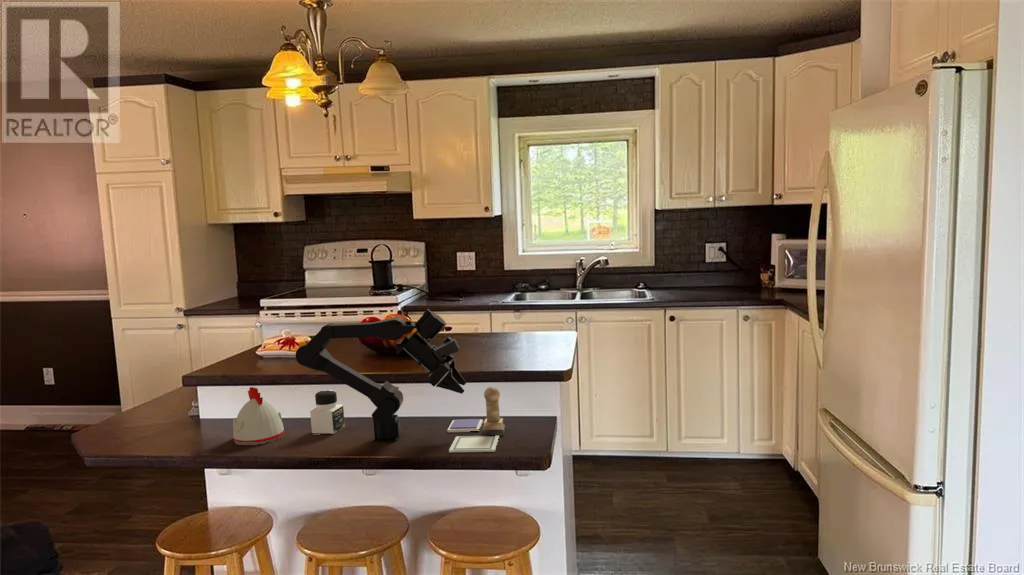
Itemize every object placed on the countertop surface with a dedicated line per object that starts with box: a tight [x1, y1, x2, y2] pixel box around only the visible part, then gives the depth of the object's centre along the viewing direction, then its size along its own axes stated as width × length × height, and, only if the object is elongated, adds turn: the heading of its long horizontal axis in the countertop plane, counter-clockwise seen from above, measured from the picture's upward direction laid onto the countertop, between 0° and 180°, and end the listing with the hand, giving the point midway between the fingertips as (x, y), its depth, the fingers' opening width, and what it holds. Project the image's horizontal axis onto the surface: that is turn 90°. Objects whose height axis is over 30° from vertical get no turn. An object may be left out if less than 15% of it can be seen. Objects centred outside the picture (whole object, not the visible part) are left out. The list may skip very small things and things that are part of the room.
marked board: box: [448, 435, 500, 454], centre depth 173 cm, size 12×11×1 cm
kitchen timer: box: [232, 386, 285, 442], centre depth 188 cm, size 14×14×15 cm
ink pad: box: [446, 418, 484, 433], centre depth 189 cm, size 9×9×1 cm
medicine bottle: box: [309, 389, 345, 435], centre depth 192 cm, size 7×7×12 cm
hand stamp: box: [481, 386, 506, 436], centre depth 182 cm, size 6×5×13 cm
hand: (464, 388), depth 181 cm, fingers open, 9 cm apart
